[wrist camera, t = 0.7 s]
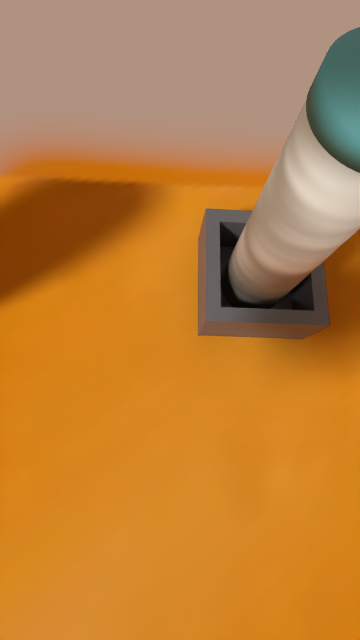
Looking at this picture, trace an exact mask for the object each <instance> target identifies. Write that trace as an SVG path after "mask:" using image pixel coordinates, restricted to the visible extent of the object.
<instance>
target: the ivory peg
mask: <svg viewBox="0 0 360 640" xmlns="http://www.w3.org/2000/svg"><path fill="white" fill-rule="evenodd" d="M359 229H360V27H359V28H356V29H353V30H351V31H349V32H347V33H345V34H344V35H342V36H341V37H339V38H338V39H337V40H336V41H335V42H334V43H333V44H332V46H331V47H330V49H329V50H328V52H327V54H326V56H325V58H324V60H323V62H322V64H321V66H320V68H319V71H318V73H317V75H316V77H315V79H314V81H313V83H312V86H311V87H310V90H309V92H308V95H307V100H306V102H305V104H304V106H303V108H302V110H301V112H300V114H299V116H298V118H297V120H296V122H295V125H294V126H293V129H292V130H291V133H290V135H289V137H288V139H287V141H286V143H285V145H284V147H283V149H282V151H281V153H280V155H279V157H278V159H277V161H276V164H275V166H274V168H273V170H272V172H271V174H270V176H269V178H268V180H267V182H266V184H265V186H264V188H263V190H262V192H261V194H260V196H259V199H258V201H257V203H256V205H255V207H254V209H253V211H252V213H251V215H250V217H249V219H248V221H247V223H246V225H245V227H244V230H243V232H242V234H241V236H240V238H239V240H238V242H237V244H236V246H235V248H234V250H233V252H232V254H231V256H230V258H229V260H228V263H227V265H226V267H225V269H224V271H223V273H222V277H221V288H222V292H223V294H224V296H225V298H226V300H227V301H228V302H229V303H230V304H231V305H232V306H233V307H234V308H257V309H271V308H272V307H273V306H274V305H275V304H276V303H278V302H279V301H280V300H281V299H282V298H283V297H284V296H285V295H286V294H288V293H289V292H290V291H291V290H292V289H293V288H294V287H295V286H296V285H298V284H299V283H300V282H301V281H302V280H303V279H304V278H305V277H306V276H308V275H309V274H310V273H311V272H312V271H313V270H314V269H315V268H317V267H318V266H319V265H320V264H321V263H322V262H323V261H324V260H325V259H327V258H328V257H329V256H330V255H331V254H332V253H333V252H334V251H335V250H337V249H338V248H339V247H340V246H341V245H342V244H343V243H344V242H345V241H347V240H348V239H349V238H350V237H351V236H352V235H353V234H354V233H356V232H357V231H358V230H359Z"/></svg>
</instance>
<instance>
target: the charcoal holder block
mask: <svg viewBox="0 0 360 640" xmlns="http://www.w3.org/2000/svg"><path fill="white" fill-rule="evenodd" d="M251 213H252V211H240V210H223V209H206V210H205V214H204V218H203V222H202V226H201V230H200V234H199V244H198V335H207V336H236V337H265V338H294V339H304V338H306V337H308V336H310V335H312V334H314V333H316V332H318V331H320V330H322V329H324V328H326V327H328V326H330V321H329V311H328V301H327V291H326V281H325V271H324V261H323V262H322V263H321V264H320V265H319V266H318V267H317V268H315V269H314V270H313V271H312V272H311V273H310V274H309V275H308V276H306V277H305V278H304V279H303V280H302V281H301V282H300V283H299V284H298V285H296V286H295V287H294V288H293V289H292V290H291V291H290V292H289V293H288V294H286V295H285V296H284V297H283V298H282V299H281V300H280V301H279V302H278V303H276V304H275V305H274V306H273V307H272V308H271V309H257V308H234V307H233V306H232V305H231V304H230V303H229V302H228V301H227V300H226V298H225V296H224V294H223V292H222V288H221V277H222V273H223V271H224V269H225V267H226V265H227V263H228V260H229V258H230V256H231V254H232V252H233V250H234V248H235V246H236V244H237V242H238V240H239V238H240V236H241V234H242V232H243V230H244V227H245V225H246V223H247V221H248V219H249V217H250V215H251Z"/></svg>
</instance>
